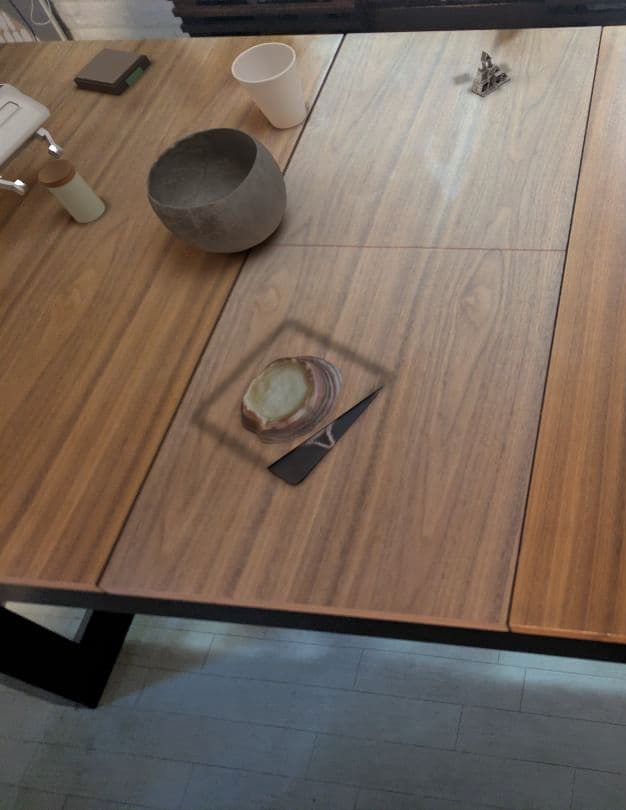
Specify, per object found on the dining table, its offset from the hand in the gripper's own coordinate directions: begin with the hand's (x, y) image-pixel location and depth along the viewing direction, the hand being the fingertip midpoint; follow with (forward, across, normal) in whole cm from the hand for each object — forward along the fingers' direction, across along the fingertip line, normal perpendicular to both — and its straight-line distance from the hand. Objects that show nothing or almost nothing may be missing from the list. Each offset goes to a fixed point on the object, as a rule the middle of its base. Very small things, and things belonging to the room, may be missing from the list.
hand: (43, 172), depth 122 cm
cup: (+26, -32, +12) cm, 43 cm away
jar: (+9, 0, -4) cm, 10 cm away
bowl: (+31, -4, +18) cm, 36 cm away
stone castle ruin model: (+50, -52, +36) cm, 81 cm away
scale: (-7, -36, -19) cm, 41 cm away
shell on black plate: (+50, +25, +36) cm, 66 cm away
